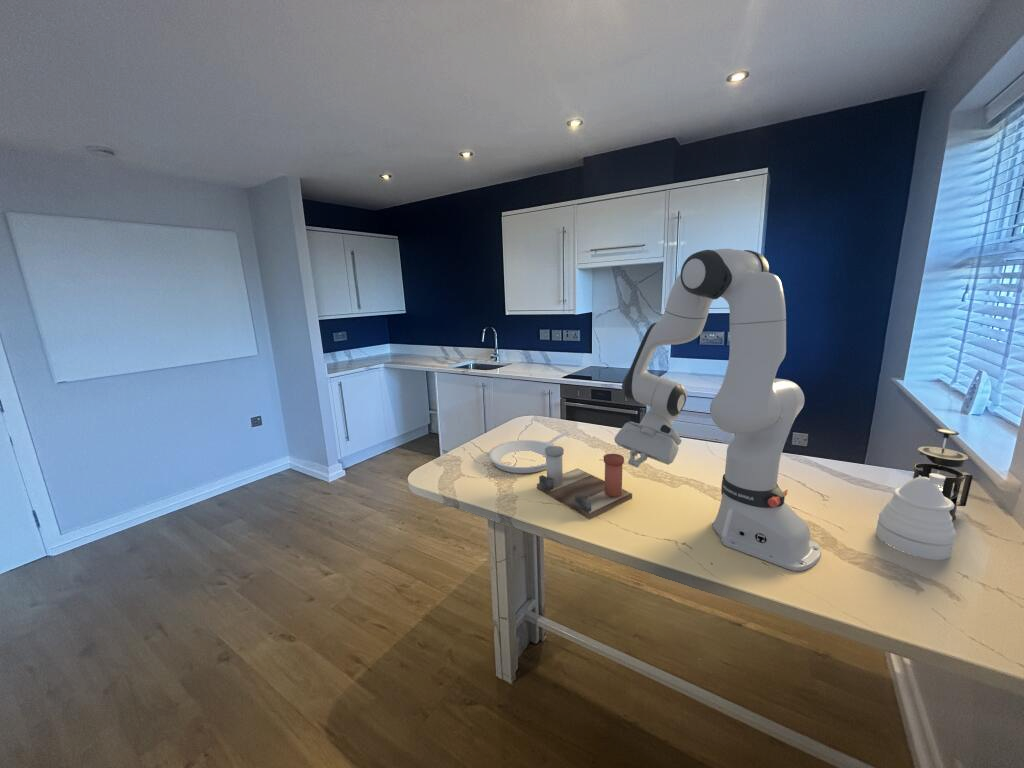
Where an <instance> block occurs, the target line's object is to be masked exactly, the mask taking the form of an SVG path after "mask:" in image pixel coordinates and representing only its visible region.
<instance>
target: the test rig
mask: <svg viewBox="0 0 1024 768" xmlns="http://www.w3.org/2000/svg"><path fill="white" fill-rule="evenodd" d="M538 480H539V482H538V483H536V489H537V490H539V491H540V492H543V493H544V494H546V495H547V496H549V497H551V498H552V499H554V500H556V501H558V502H560V503H561V504H563V505H564V506H567V507H568V508H569V509H571V510H573V511H575V512H576V513H578V514H580V515H581V516H582V517H583V516H584V517H585V518H587V519H589V520H591V519H593V518H595V517H597V516H600V515H602V514H603V513H605V512H608V511H610V510H611V509H614V508H616V507H618V506H620V505H622V504H624V503H626V502H627V501H630V500H632V499H633V493H632V492H629V491H628V490H626V489H624V488H622V494H621V495H620V496H617V497H612V496H608V495H606V494H605V479H601V478H599V477H596V476H595V475H593V474H591V473H589V472H586V471H584V470H582V469H580V468H575V469H572V470H570V471H567V472H565V473H563V483H562V484H561V485H559V486H553V480H551V479H549V478H547V476H545V475H543V474H542V475H539V478H538Z"/></svg>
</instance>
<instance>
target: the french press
mask: <svg viewBox="0 0 1024 768" xmlns="http://www.w3.org/2000/svg"><path fill="white" fill-rule="evenodd" d="M935 432H937V433H940V434H942V435H943V436H942V437H943V438H944V440H943V444H942V447H938V446H919V447H917V451H918V452H919V455H920V456H925V457H927V459H928V460H929V461H931V462H932V463H927V462H922V463H921V462H920V463H916V464H914V469H913V476H912V479H914V478H917V477H927V478H929V474H930V473H932V470H937V471H936V474H940V471H943V472H946V473H949V474H952V475H955V477H947V476H945V477H946V479H945V481H944V482H943V486H942V485H940V484H937V486H938V487H939V488H940V490H941V492H942V494H943V496H944V497H946V498H948V499H949V500H951V501H952V502H953V503H954V505H955V506H954V509H952V510H950V511H949V512H950V515H951V516H952V522H953V521H955V520H956V517H957V516H956V513H957V508H958V507H966V506H967V501H968V497H969V494H970V490H971V486H972V481H973V475H972V474H970V473H969V472H964V471H960V470H958V469H956V468H962V467H964V466H965V462H966V461H968V460H969V456H968V455H967V454H965V453H963V452H960V451H957V450H952V449H950V448H945V447H946V443H947V439H949V437H950V436H958V435H960V433H959V432H958V431H956V430H952V429H947V428H936V429H935ZM921 469H922V470H921ZM963 482H964V483H963ZM962 483H963V488H962V491H961V494H960V488H961V484H962ZM959 494H960V495H961V496H960V499H959V501H958V497H959Z"/></svg>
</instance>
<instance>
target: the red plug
mask: <svg viewBox="0 0 1024 768" xmlns="http://www.w3.org/2000/svg"><path fill="white" fill-rule="evenodd" d="M603 462H604V481H605V494H606V495H608V496H612V497H617V496H620V495H621V494H622V489H623V464H624V463H625V457H624V456H623V455H621V454H618V453H607V454H605V455H603Z"/></svg>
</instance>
